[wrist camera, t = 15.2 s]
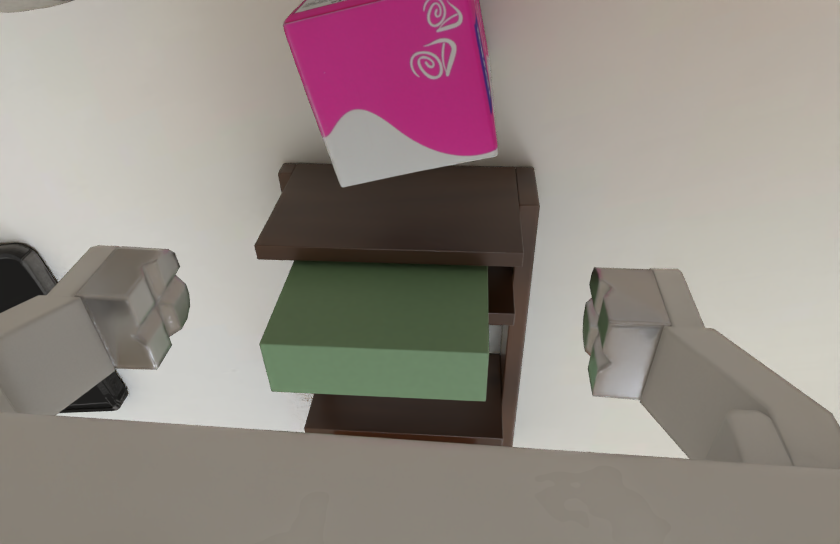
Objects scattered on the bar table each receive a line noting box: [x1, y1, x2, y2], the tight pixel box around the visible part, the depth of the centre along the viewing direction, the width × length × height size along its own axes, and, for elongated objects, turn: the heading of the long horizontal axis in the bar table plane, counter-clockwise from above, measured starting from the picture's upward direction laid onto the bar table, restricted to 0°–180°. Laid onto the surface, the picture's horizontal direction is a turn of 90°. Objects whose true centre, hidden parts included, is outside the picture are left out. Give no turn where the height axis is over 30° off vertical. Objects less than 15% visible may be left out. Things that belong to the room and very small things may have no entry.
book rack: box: [255, 164, 540, 447], centre depth 37 cm, size 24×14×8 cm, turn 1°
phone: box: [0, 243, 128, 413], centre depth 42 cm, size 8×1×15 cm
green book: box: [260, 260, 489, 401], centre depth 29 cm, size 3×9×13 cm, turn 91°
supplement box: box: [283, 0, 498, 187], centre depth 23 cm, size 6×6×12 cm
